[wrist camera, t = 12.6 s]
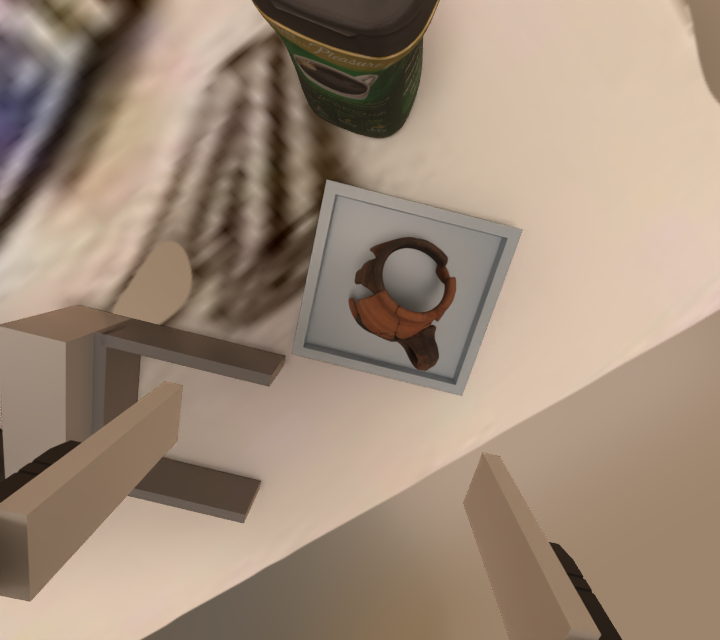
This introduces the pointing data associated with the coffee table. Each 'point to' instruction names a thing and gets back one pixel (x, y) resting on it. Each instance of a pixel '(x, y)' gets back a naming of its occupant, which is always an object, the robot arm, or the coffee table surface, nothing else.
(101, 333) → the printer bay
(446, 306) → the pottery mug
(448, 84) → the coffee table surface
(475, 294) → the tray
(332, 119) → the coffee jar
